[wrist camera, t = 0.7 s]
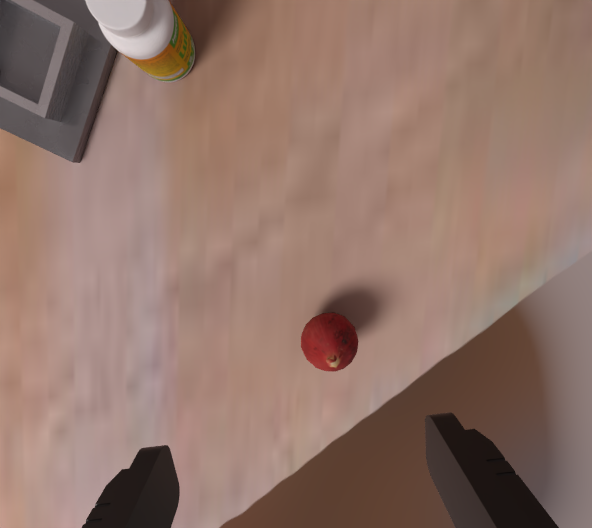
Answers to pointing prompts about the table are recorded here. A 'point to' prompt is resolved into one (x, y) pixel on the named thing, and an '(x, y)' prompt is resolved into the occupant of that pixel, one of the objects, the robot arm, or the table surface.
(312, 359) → the red fruit
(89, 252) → the table surface
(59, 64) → the plate
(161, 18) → the supplement bottle
